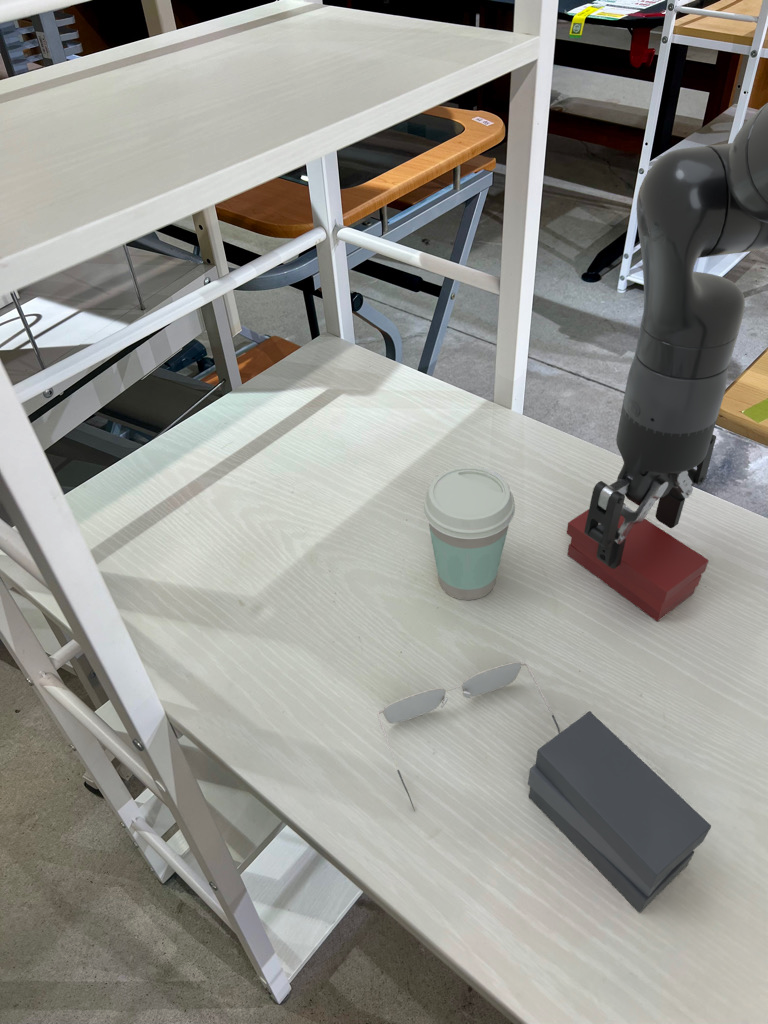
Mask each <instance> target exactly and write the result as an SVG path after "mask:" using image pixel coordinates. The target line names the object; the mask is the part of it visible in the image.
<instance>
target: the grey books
mask: <svg viewBox="0 0 768 1024" xmlns="http://www.w3.org/2000/svg"><path fill="white" fill-rule="evenodd" d="M527 785H528V786H529V792H528V798H529V799H530V800H531V802H533V804H535V805H536V807H537V808H539V810H540V811H541V813H543V814H544V815H545V816H546V817H547V818H548V819H549V820H550V821H551V822H552V823H553V825H554V826H555V827H556V828H558V829H559V831H560V832H561V833H562V834H563V835H564V836H565V837H566V838H567V839H568V840H569V841H570V842H571V843H572V844H573V845H574V846H575V847H576V849H578V851H580V853H581V854H582V855H583V856H584V857H585V858H586V859H587V861H588V862H590V863H591V864H592V865H593V866H594V868H595V869H597V871H599V873H601V875H602V876H603V877H604V878H605V879H606V880H607V881H608V882H609V883H610V884H611V885H612V886H613V888H614V889H616V890H617V892H618V893H620V894H621V896H622V897H623V898H624V899H625V900H626V901H627V902H628V903H629V904H630V905H631V906H632V907H633V908H634V909H635V910H636V911H637V912H638V914H641V913H642V912H643V911H645V909H646V908H647V907H648V906H649V905H651V903H653V901H654V900H655V899H656V898H657V897H658V896H659V895H660V894H661V893H662V892H663V891H664V890H665V889H666V888H667V887H668V886H669V885H670V884H671V883H672V882H673V881H674V880H675V879H676V878H677V877H678V876H679V875H680V874H681V873H682V872H683V871H684V870H685V869H686V868H687V867H688V865H689V863H690V862H691V860H692V858H693V856H694V854H695V850H696V849H697V848H698V847H699V846H700V845H701V844H702V843H703V842H704V841H705V839H706V837H707V836H708V833H709V832H710V830H711V828H712V825H711V824H710V823H709V822H708V821H707V820H706V819H705V818H704V817H703V816H702V815H701V814H699V813H698V812H697V810H695V809H694V808H693V807H692V806H691V805H690V804H689V803H688V802H687V801H685V799H683V798H682V797H681V796H680V795H679V794H678V793H677V791H675V790H674V789H673V788H672V787H671V786H670V785H669V784H668V783H666V782H665V781H664V779H662V778H661V777H660V776H659V774H657V773H656V772H655V771H654V770H653V769H652V768H651V767H650V766H648V764H646V762H644V760H643V759H641V758H640V757H639V756H638V755H637V754H636V753H635V752H634V751H633V750H632V749H630V747H629V746H627V744H625V742H623V741H622V740H621V739H620V738H619V737H618V736H617V735H616V734H615V733H614V732H612V731H611V729H610V728H608V727H607V726H606V725H605V724H604V723H603V722H602V721H601V720H600V719H599V718H598V717H597V716H596V715H595V714H593V713H592V712H591V711H587V712H586V713H585V714H584V715H582V716H581V717H580V718H579V719H577V720H575V721H574V722H573V723H571V724H570V725H569V726H568V727H566V728H565V729H564V730H562V731H560V733H559V732H558V734H557V735H556V736H554V737H552V739H550V740H549V741H547V742H546V743H544V744H543V745H542V746H541V747H539V748H538V749H537V752H536V758H535V763H534V765H532V766H531V767H530V768H529V772H528V779H527Z"/></svg>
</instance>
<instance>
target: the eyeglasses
mask: <svg viewBox="0 0 768 1024" xmlns="http://www.w3.org/2000/svg"><path fill="white" fill-rule="evenodd" d="M522 666H526V668H527V670H528V672H529V674H530V676H531V678H532V680H533V682H534V685H536V688H537V690H538V692H539V694H540V696H541V698H542V699H543V701H544V703H545V705H546V707H547V709H548V711H549V713H550V715H551V718H552V720H553V722H554V724H555V727H556V729H557V732H558V734H559V733H561V730H560V727H559V724H558V722H557V720H556V717H555V715H554V714H553V711H552V710H551V707H550V706H549V704H548V702H547V700H546V698H545V696H544V694H543V692H542V690H541V688H540V685H539V683H538V681H537V679H536V677H535V675H534V673H533V671H532V669H531V667H530V665H529V664H528V663H527V662H526V661H523V662H521V661H514V662H509V663H505V664H502V665H498V666H495V667H492V668H488V669H485V670H483V671H480V672H478V673H475V674H473V675H471V676H469V677H468V678H466V679H465V680H464V681H463V682H462V683H461V684H458V685H457V686H454V687H451V688H447V689H445V688H444V687H436V688H435V687H434V688H431V689H426V690H423V691H421V692H420V691H419V692H416V693H414V694H411V695H409V696H406V697H403V698H401V699H398V700H396V701H393V702H391V703H389V704H387V705H386V706H385V707H384V708H383V709H381V710H378V711H377V714H376V715H377V720H378V723H379V725H380V727H381V730H382V733H383V736H384V738H385V741H386V744H387V746H388V748H389V751H390V754H391V757H392V760H393V762H394V765H395V768H396V772H397V774H398V776H399V778H400V781H401V784H402V785H403V788H404V791H405V792H406V794H407V797H408V799H409V801H410V804H411V806H412V809H413V811H414V812H416V809H415V807H414V804H413V801H412V798H411V795H410V794H409V791H408V788H407V786H406V784H405V782H404V779H403V777H402V774H401V772H400V769H399V767H398V764H397V762H396V759H395V756H394V753H393V750H392V748H391V744H390V742H389V739H388V736H387V734H386V731H385V728H384V725H383V722H382V719H381V717H380V716H381V715H380V714H383V716H384V719H385V720H386V721H387V722H388V723H389V724H399V723H403V722H406V721H408V720H409V721H410V720H411V719H415V718H417V717H420V716H422V715H425V714H428V713H431V712H433V711H434V710H436V709H437V708H438V707H439V706H440V705H441V704H442V705H441V706H440V707H441V708H442V709H443V708H444V707H445V705H446V703H447V702H448V700H449V697H447V696H446V694H447V693H446V692H449V691H453V690H456V689H458V688H460V687H461V690H462V695H463V697H464V698H466V699H471V698H474V697H479V696H482V695H484V694H488V693H491V692H494V691H497V690H500V689H502V688H505V687H506V686H509V685H510V684H512V683H513V682H514V681H515V680H517V677H518V675H519V673H520V671H521V669H522Z"/></svg>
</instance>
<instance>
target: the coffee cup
mask: <svg viewBox="0 0 768 1024" xmlns="http://www.w3.org/2000/svg"><path fill="white" fill-rule="evenodd" d="M422 511H423V515H424V517H425V519H426V521H427V522H428V528H429V533H430V539H431V540H430V541H431V545H432V549H433V550H432V551H433V557H434V562H435V567H436V572H437V578H438V584H439V585H440V587H441V589H442V590H443V591H444V593H446V594H448V595H449V596H451V597H453V598H455V599H459V600H463V601H472V600H473V601H474V600H477V599H480V598H483V597H485V596H486V595H488V594H489V593H490V592H491V591H492V590H493V589H494V587H495V584H496V581H497V577H498V573H499V569H500V564H501V560H502V556H503V552H504V547H505V542H506V539H507V534H508V531H509V527H510V523H511V522H512V521H513V519H514V516H515V513H516V504H515V498H514V495H513V493H512V492H511V489H510V486H509V484H508V482H507V481H506V480H505V478H504V477H502V475H500V474H499V473H497V472H496V471H493V470H491V469H488V468H486V467H481V466H476V465H463V466H456V467H452V468H449V469H446V470H444V471H443V472H441V473H440V474H438V475H437V476H435V477H434V479H433V480H432V481H431V483H430V485H429V487H428V489H427V491H426V493H425V495H424V499H423V505H422Z"/></svg>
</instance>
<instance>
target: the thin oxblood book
mask: <svg viewBox="0 0 768 1024" xmlns="http://www.w3.org/2000/svg"><path fill="white" fill-rule="evenodd" d="M588 512H589V508H588V509H587V510H585V511H583V512H582V513H580V514H578V515H577V516H576V517H574V518H573V519H571V520H569V521H568V522H567V527H566V535H567V536H569V537H571V538H573V539H575V540H576V541H578V542H579V543H580V544H582V545H583V546H585V547H586V548H587V549H589V550H590V551H591V552H593V553H594V554H596V555H597V550H598V545H599V543H597V542H596V541H595V540H593V539H592V538H590V537H589V536H587V535H586V534H585V533H584V530H585V526H586V521H587V516H588ZM624 520H625V519H624V517H623V516H621V515H620V519H619V523H618V528H619V529H620V527H621V525H622V524H623V522H624ZM598 524H599V523H598ZM625 539H626V541H625V546H624V550H623V555H622V559H621V564H620V565H619V566H618V567H616V568H615V569H617V570H618V571H619V572H621V573H622V574H624V575H625V576H626V577H628V578H629V579H631V580H632V581H633V582H635V583H636V584H637V585H639V586H640V587H642V588H643V589H644V590H646V591H647V592H649V593H650V594H651V595H653V596H654V597H656V598H657V599H658V600H660V601H661V602H663V603H664V602H666V601H667V600H668V599H670V598H671V597H672V596H674V595H675V594H676V593H677V592H679V591H680V590H681V589H683V588H684V587H685V586H687V585H688V584H689V583H690V582H692V581H693V580H694V579H696V578H697V577H698V576H700V575H703V574H704V573H705V572H706V570H707V567H708V564H709V561H710V560H709V559H708V558H707V557H705V556H703V555H702V554H700V553H699V552H697V551H696V550H694V549H692V548H691V547H689V546H688V545H686V544H684V543H683V542H681V541H680V540H679V539H677V538H676V537H674V536H672V535H671V534H669V532H667V531H665V530H663V529H661V528H660V527H658V526H657V525H655V524H654V523H652V522H651V521H649V520H648V519H646V518H644V520H643V521H642V522H641V523H639V524H634V526H633V527H632V529H631V530H630V532H629V534H628V535H627V537H626V538H625Z"/></svg>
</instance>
